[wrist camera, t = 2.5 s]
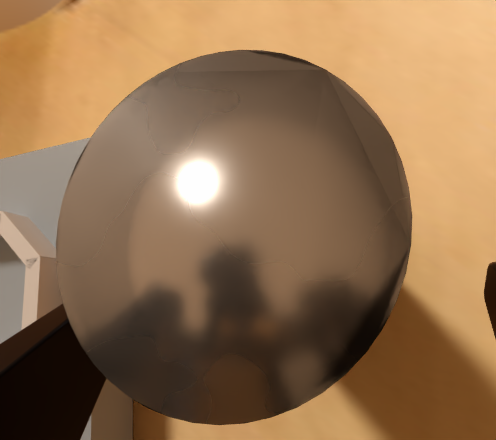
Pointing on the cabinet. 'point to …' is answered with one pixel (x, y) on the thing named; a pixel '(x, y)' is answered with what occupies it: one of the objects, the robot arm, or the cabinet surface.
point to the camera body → (44, 262)
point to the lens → (233, 237)
